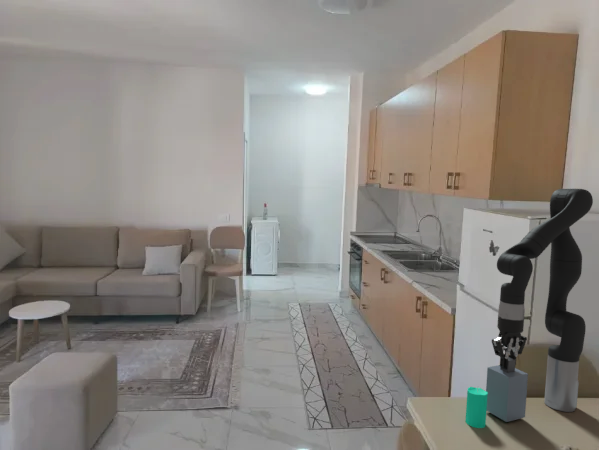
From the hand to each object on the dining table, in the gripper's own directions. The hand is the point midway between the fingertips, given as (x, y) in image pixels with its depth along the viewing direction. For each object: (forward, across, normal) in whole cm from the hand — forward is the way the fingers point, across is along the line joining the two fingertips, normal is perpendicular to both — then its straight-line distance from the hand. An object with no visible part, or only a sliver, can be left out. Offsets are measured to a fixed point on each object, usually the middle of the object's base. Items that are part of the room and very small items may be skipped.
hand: (507, 367), depth 137 cm
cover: (+15, 0, 0) cm, 15 cm away
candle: (+16, +13, 0) cm, 21 cm away
